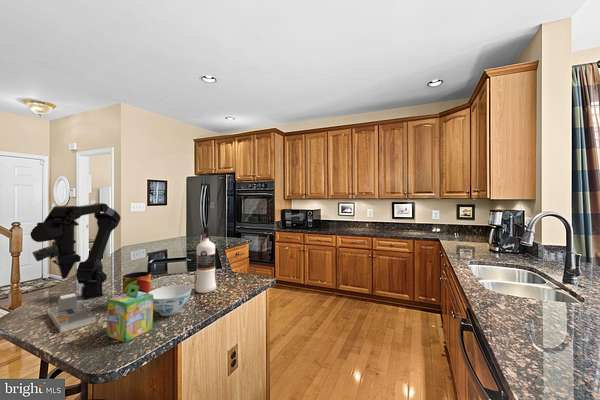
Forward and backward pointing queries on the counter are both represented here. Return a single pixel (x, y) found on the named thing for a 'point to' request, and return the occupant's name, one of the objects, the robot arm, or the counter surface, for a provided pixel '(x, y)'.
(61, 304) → the fader tab
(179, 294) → the chinaware
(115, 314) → the chalk box
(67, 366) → the counter surface
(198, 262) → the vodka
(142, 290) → the mug
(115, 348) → the counter surface
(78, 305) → the console
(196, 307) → the counter surface
